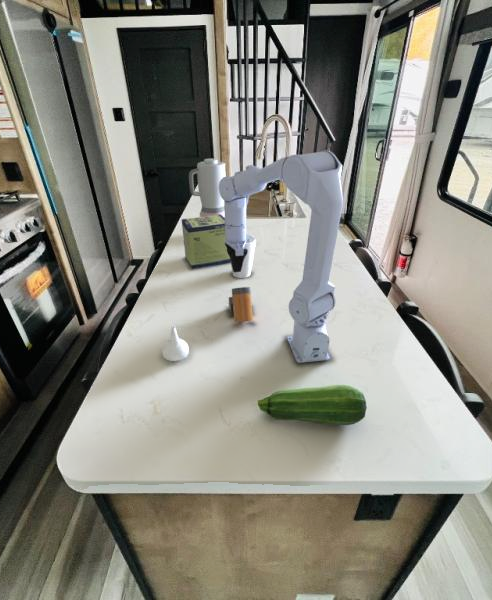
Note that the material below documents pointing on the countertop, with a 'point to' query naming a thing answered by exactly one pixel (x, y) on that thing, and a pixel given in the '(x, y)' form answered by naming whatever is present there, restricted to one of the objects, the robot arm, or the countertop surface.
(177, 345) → the garlic bulb
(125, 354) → the countertop surface
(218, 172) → the blender
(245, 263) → the foam cup
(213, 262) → the protein box
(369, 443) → the countertop surface
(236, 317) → the orange and grey block
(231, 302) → the prop block
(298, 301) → the robot arm
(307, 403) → the vegetable
